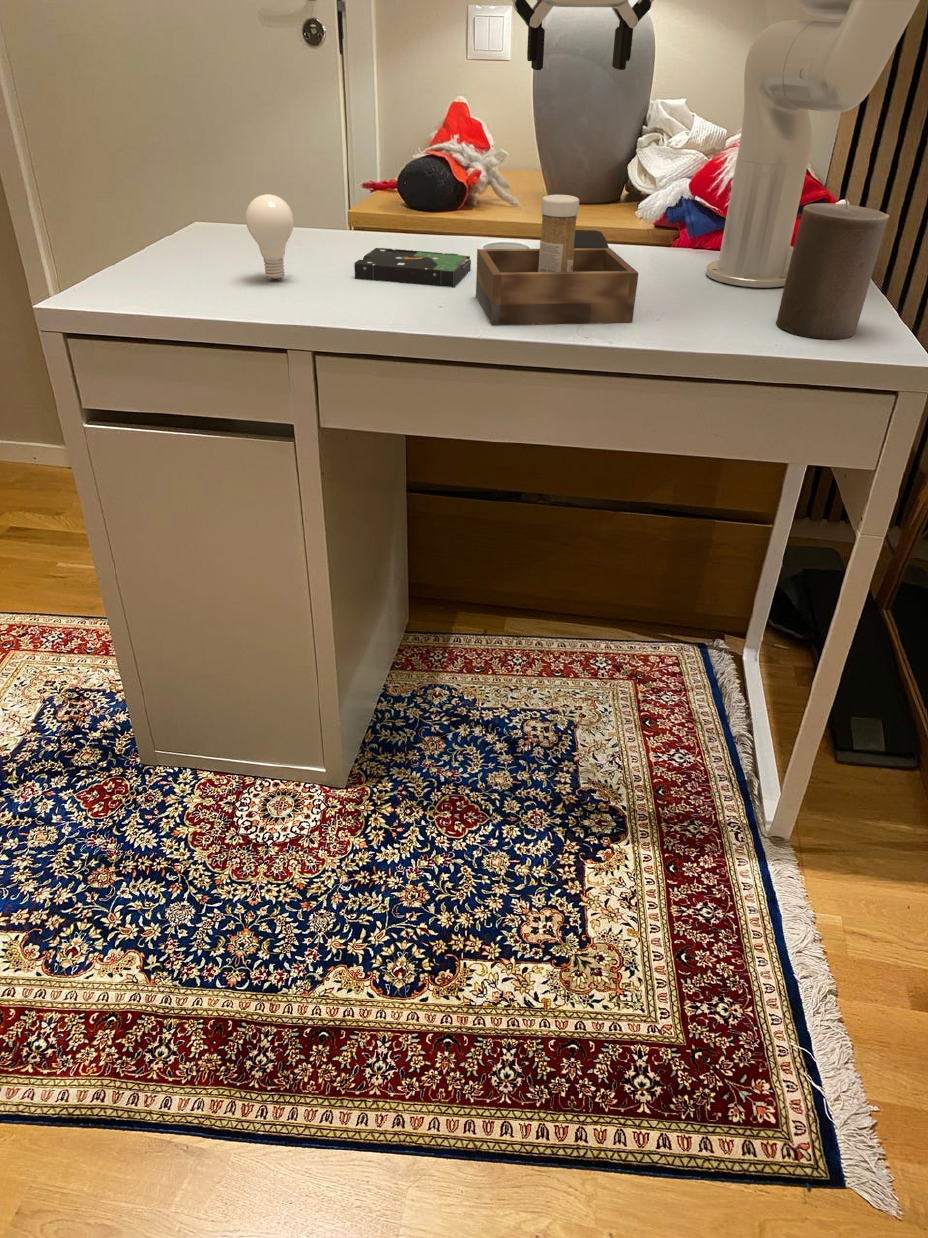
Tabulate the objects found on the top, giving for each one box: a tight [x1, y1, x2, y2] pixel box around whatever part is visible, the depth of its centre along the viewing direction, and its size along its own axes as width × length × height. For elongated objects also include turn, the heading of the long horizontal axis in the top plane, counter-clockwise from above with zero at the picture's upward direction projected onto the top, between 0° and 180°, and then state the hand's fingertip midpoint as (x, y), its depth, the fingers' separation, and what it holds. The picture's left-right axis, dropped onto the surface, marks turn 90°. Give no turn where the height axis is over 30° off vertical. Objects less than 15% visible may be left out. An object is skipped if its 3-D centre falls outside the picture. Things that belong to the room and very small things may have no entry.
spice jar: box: [538, 194, 580, 272], centre depth 113 cm, size 5×5×14 cm
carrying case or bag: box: [574, 229, 610, 248], centre depth 141 cm, size 11×3×15 cm
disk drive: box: [353, 247, 472, 288], centre depth 129 cm, size 10×3×15 cm
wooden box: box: [475, 247, 639, 326], centre depth 115 cm, size 18×13×6 cm
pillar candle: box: [775, 198, 890, 340], centre depth 109 cm, size 10×10×15 cm
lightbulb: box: [245, 193, 295, 282], centre depth 122 cm, size 6×6×11 cm
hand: (577, 68), depth 103 cm, fingers open, 9 cm apart
